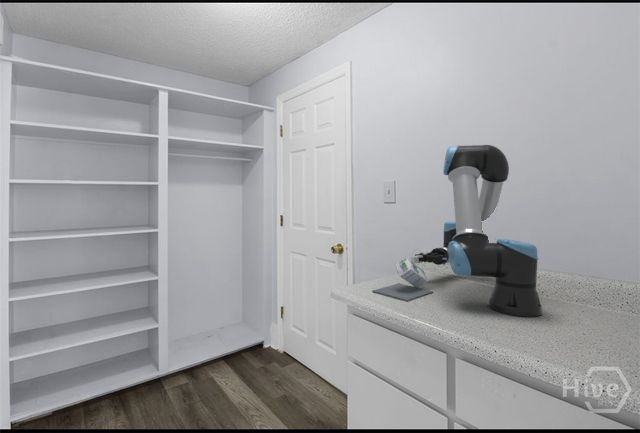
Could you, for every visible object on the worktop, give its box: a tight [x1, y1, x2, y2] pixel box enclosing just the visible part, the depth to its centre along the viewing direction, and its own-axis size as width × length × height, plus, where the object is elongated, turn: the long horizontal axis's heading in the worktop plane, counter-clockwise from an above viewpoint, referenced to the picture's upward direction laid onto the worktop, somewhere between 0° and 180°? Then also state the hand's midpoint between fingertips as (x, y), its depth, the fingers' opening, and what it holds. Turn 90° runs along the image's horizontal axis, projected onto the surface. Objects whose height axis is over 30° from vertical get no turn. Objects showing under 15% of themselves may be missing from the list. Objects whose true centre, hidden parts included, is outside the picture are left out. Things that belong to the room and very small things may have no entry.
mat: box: [372, 283, 434, 303], centre depth 128 cm, size 18×16×1 cm
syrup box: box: [394, 258, 429, 288], centre depth 131 cm, size 6×6×14 cm
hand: (412, 259), depth 132 cm, fingers closed
